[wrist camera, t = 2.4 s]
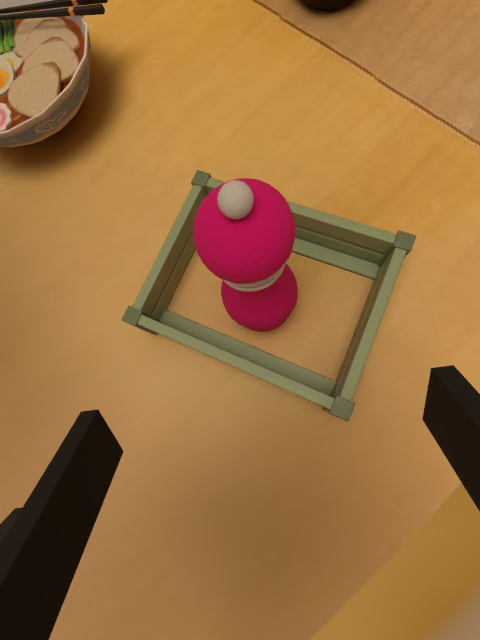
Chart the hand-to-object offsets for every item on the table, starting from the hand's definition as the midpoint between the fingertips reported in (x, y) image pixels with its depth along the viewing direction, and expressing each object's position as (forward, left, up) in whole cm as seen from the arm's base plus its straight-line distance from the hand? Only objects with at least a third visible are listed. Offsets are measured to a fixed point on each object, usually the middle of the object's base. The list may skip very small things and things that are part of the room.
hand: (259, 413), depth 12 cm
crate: (-9, +6, -19) cm, 22 cm away
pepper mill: (-9, +5, -20) cm, 22 cm away
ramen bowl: (-51, -2, -20) cm, 55 cm away
